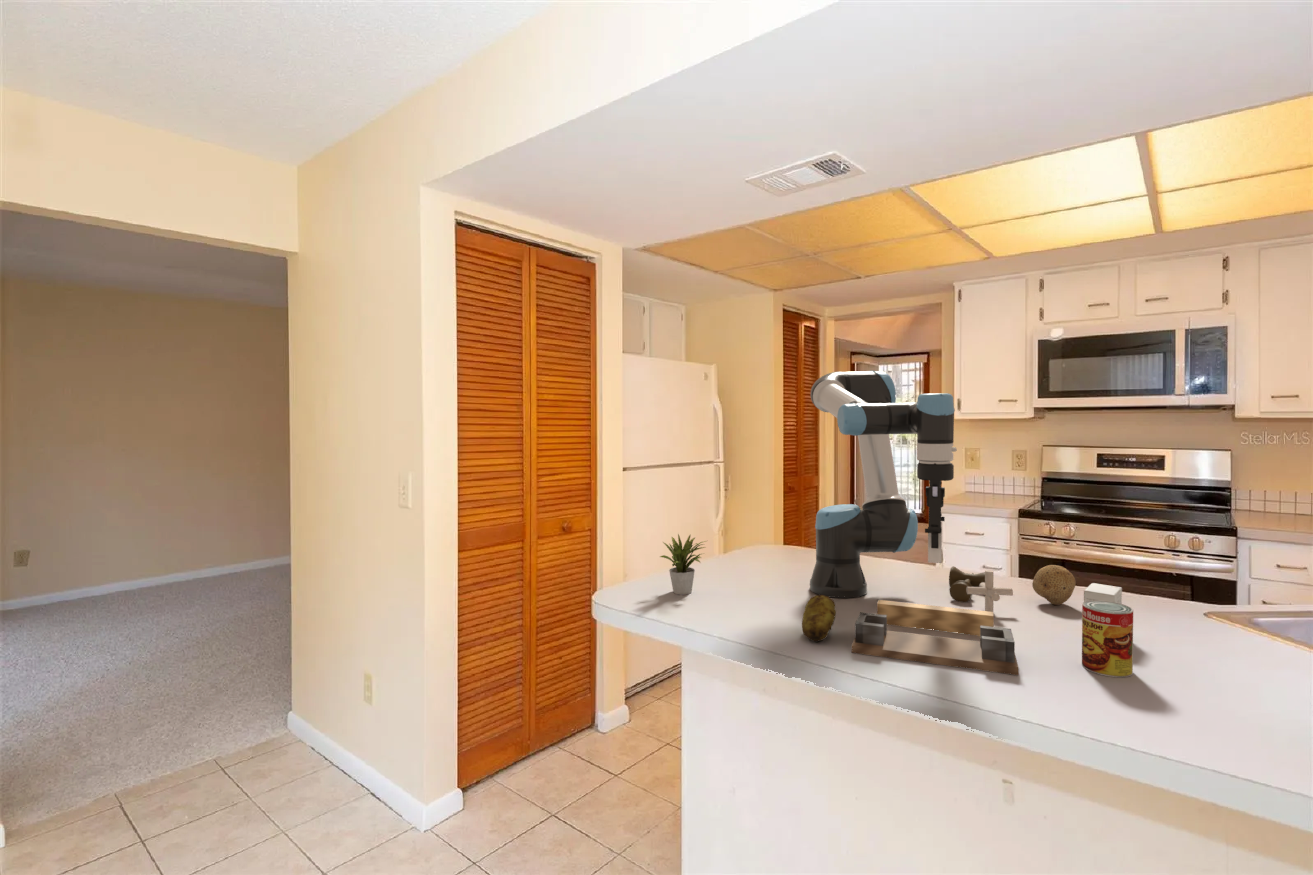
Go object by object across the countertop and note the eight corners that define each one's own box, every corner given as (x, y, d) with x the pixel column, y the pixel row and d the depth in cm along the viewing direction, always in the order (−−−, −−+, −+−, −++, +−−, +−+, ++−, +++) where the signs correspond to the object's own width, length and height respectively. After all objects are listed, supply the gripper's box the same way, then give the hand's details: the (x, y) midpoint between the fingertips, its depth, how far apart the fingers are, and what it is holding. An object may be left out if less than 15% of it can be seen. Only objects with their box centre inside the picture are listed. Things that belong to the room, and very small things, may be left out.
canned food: (1072, 660, 125) (1073, 600, 125) (1113, 660, 125) (1114, 600, 124) (1099, 677, 117) (1099, 613, 117) (1143, 677, 117) (1143, 612, 116)
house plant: (702, 602, 168) (701, 540, 167) (651, 599, 172) (650, 538, 171) (713, 587, 181) (712, 530, 181) (666, 585, 185) (665, 529, 185)
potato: (787, 639, 140) (787, 603, 140) (813, 623, 150) (813, 589, 150) (823, 647, 135) (822, 610, 134) (847, 630, 145) (847, 595, 144)
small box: (1091, 628, 143) (1091, 582, 142) (1121, 634, 139) (1122, 586, 138) (1082, 638, 137) (1082, 589, 137) (1114, 644, 133) (1114, 594, 133)
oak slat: (877, 624, 149) (877, 603, 149) (879, 620, 152) (878, 599, 152) (993, 638, 138) (993, 616, 138) (993, 634, 141) (993, 612, 141)
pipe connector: (1018, 619, 150) (1018, 577, 149) (972, 617, 152) (973, 575, 151) (1004, 606, 160) (1004, 566, 159) (961, 604, 162) (961, 565, 161)
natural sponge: (1042, 609, 156) (1042, 569, 156) (1025, 599, 165) (1026, 560, 165) (1082, 610, 155) (1082, 569, 155) (1063, 599, 164) (1063, 561, 164)
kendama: (939, 601, 167) (954, 581, 183) (980, 608, 161) (991, 587, 178) (939, 578, 166) (954, 561, 183) (980, 585, 161) (992, 566, 177)
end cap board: (851, 652, 131) (851, 626, 131) (859, 633, 142) (859, 609, 142) (1018, 675, 119) (1018, 646, 119) (1012, 652, 130) (1013, 626, 130)
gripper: (954, 467, 131) (954, 570, 132) (952, 457, 153) (952, 545, 154) (915, 466, 134) (915, 567, 135) (919, 457, 156) (919, 543, 157)
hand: (935, 555), depth 144 cm, fingers open, 13 cm apart
